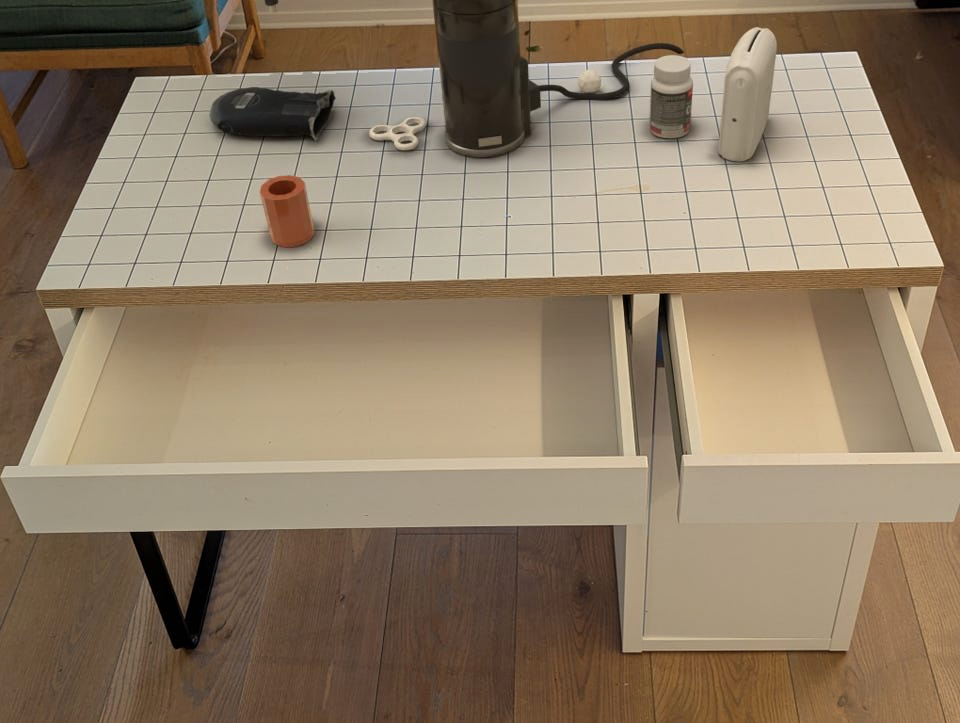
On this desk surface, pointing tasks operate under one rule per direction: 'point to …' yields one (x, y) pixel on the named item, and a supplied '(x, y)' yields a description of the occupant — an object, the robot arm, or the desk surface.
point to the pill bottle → (671, 97)
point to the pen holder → (287, 210)
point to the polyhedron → (589, 81)
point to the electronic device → (272, 112)
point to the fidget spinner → (400, 137)
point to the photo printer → (747, 94)
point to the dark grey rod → (272, 5)
